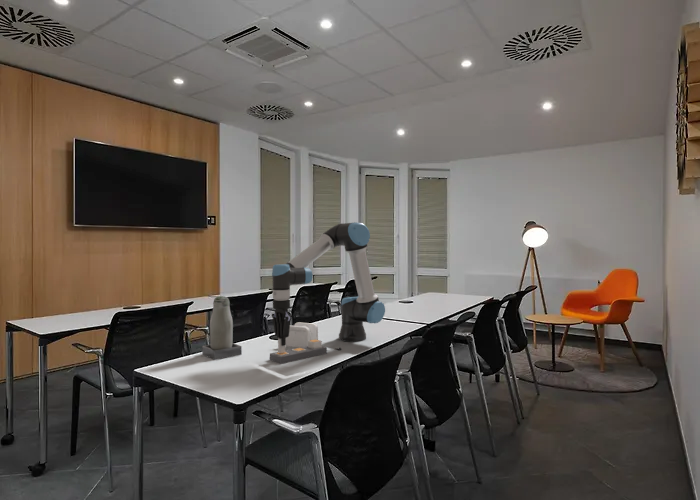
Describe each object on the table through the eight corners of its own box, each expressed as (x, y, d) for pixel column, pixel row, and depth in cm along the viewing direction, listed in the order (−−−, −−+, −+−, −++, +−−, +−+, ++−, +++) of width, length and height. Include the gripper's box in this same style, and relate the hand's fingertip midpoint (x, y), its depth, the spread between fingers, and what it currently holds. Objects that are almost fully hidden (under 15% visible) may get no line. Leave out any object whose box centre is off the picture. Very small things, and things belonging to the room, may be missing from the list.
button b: (300, 354, 198) (300, 347, 198) (305, 356, 194) (305, 349, 194) (292, 356, 195) (292, 349, 195) (297, 358, 192) (297, 350, 191)
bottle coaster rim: (228, 349, 215) (228, 341, 214) (241, 354, 204) (241, 346, 204) (202, 354, 206) (202, 346, 206) (214, 359, 195) (214, 351, 195)
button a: (315, 346, 204) (315, 339, 204) (321, 347, 200) (321, 340, 200) (308, 347, 201) (308, 340, 201) (313, 349, 197) (313, 342, 197)
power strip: (334, 348, 214) (334, 340, 214) (346, 351, 208) (346, 343, 208) (269, 362, 190) (269, 353, 190) (280, 366, 183) (280, 357, 183)
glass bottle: (206, 356, 201) (205, 297, 201) (218, 351, 211) (217, 294, 211) (225, 357, 199) (225, 297, 199) (236, 352, 209) (235, 295, 209)
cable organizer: (319, 346, 218) (319, 324, 218) (307, 351, 209) (307, 327, 209) (296, 343, 226) (296, 321, 226) (283, 348, 217) (283, 325, 217)
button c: (283, 358, 192) (283, 351, 192) (289, 360, 189) (289, 352, 189) (275, 360, 189) (275, 352, 189) (280, 362, 186) (280, 354, 186)
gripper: (266, 298, 191) (266, 351, 191) (282, 301, 181) (282, 356, 181) (280, 297, 196) (281, 348, 196) (296, 299, 186) (297, 353, 186)
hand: (281, 352), depth 189 cm, fingers closed
